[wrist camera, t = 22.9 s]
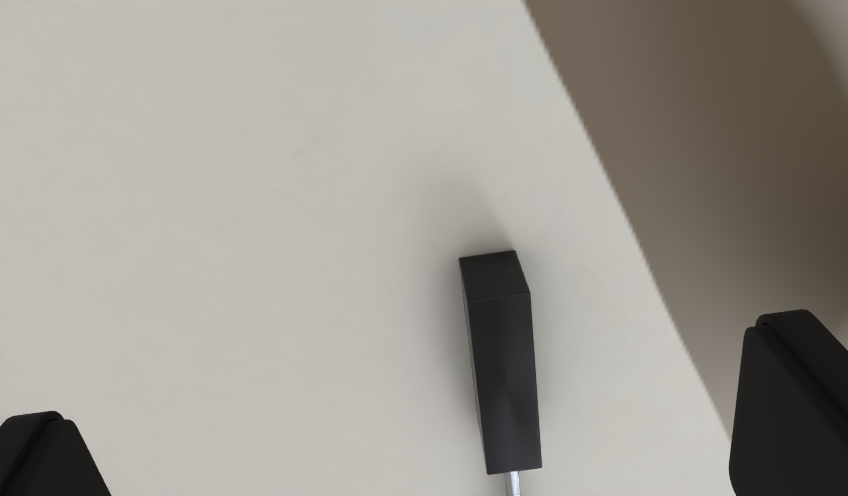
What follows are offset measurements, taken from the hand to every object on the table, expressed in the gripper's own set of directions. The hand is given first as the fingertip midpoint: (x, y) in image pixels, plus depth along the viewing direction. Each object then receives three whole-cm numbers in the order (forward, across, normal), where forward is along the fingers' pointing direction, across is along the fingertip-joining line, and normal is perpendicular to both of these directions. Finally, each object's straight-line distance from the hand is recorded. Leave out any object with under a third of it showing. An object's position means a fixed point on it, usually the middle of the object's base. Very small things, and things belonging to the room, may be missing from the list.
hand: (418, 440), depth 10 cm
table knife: (+18, -3, +17) cm, 25 cm away
